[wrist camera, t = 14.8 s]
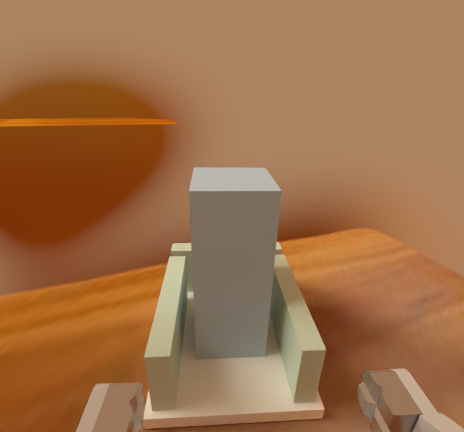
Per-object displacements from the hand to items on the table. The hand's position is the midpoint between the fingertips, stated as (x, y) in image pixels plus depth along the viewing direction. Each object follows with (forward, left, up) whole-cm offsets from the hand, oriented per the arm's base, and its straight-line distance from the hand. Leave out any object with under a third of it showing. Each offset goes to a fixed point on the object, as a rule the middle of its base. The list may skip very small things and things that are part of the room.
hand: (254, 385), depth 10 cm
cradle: (0, +12, -10) cm, 16 cm away
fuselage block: (0, +12, -10) cm, 15 cm away
